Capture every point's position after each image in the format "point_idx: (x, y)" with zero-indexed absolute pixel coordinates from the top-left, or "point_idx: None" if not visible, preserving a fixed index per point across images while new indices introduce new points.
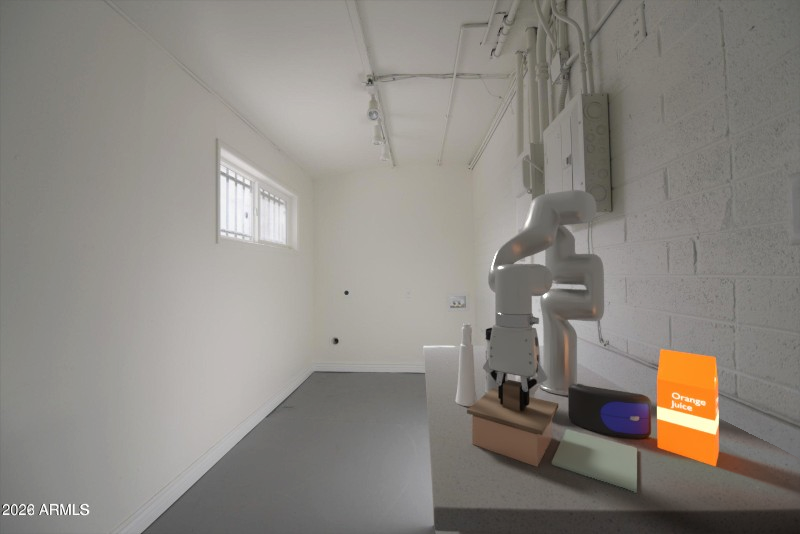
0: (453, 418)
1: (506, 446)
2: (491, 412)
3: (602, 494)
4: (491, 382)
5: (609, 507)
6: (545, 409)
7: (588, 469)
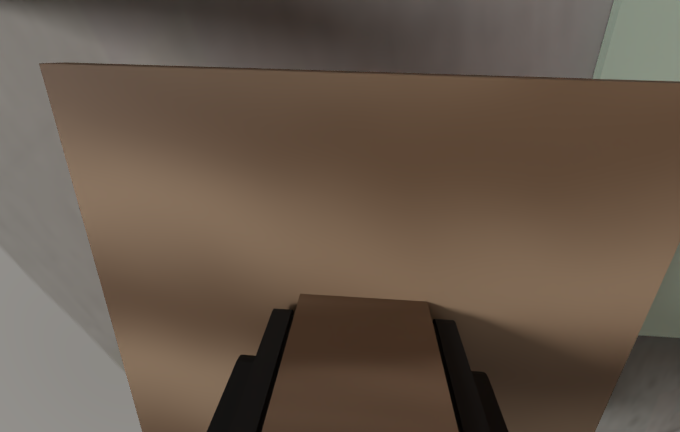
0: (47, 191)
1: None
2: None
3: (669, 387)
4: None
5: (672, 425)
6: (593, 286)
7: (664, 310)
